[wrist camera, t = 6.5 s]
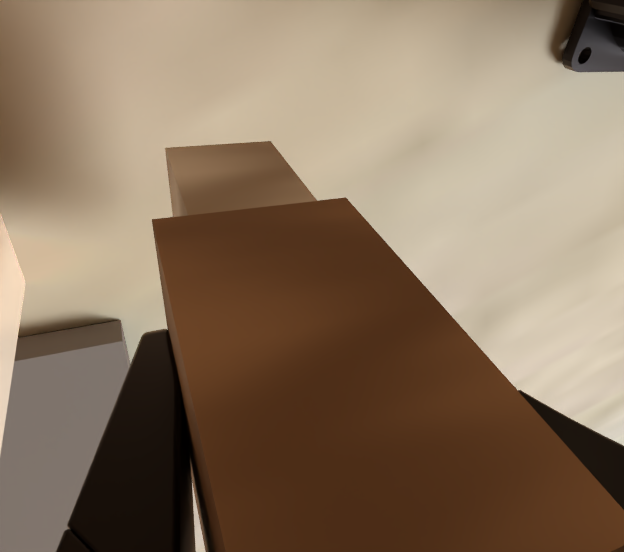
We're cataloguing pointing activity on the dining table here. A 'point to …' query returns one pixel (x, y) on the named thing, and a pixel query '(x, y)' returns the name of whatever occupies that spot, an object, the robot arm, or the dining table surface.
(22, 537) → the rest mat
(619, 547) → the brown wooden block
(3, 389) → the tile
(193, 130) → the dining table surface
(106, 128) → the dining table surface
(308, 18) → the dining table surface
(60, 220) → the dining table surface
